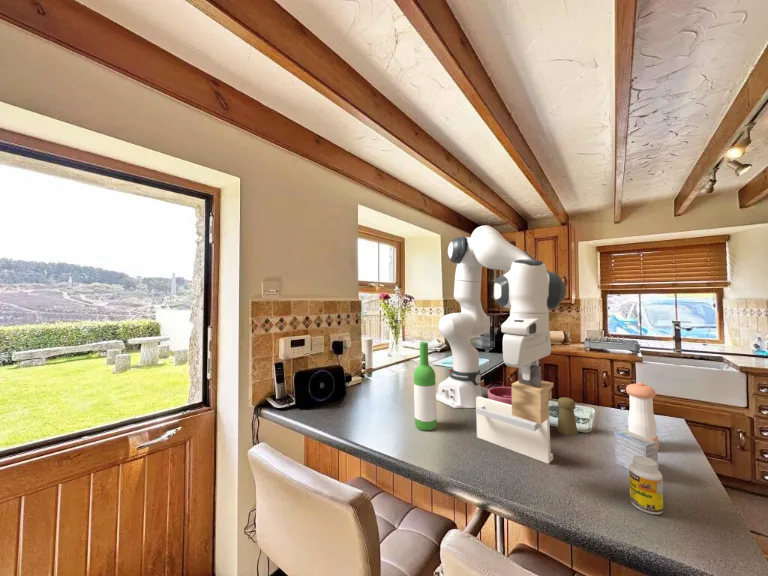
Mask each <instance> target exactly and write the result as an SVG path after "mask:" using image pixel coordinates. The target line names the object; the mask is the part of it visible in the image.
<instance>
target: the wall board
mask: <svg viewBox="0 0 768 576" xmlns="http://www.w3.org/2000/svg"><path fill="white" fill-rule="evenodd" d="M475 415H476V416H475V417H476V438H477V439H480V440H481V439H482V440H483V441H486V442H489V443H491V444H495V445H497V446H500V447H501V448H502V447H503V448H504V449H508V450H511V451H514V452H516V453H518V454H521V455H523V456H527V457H528V458H529V457H530V458H532V459H534V460H537V461H540V462H543V463H545V464H548V465H549V464H550V463H552V461H553V460H554V454H553V453H552V452H551V432H550V431H551V430H550V427H551V426H550V417H549V418H548V419H547V420H546V421H544V422H543V423H542V424H538V423H535V422H532V421H529V420H526V419H522V418H519V417H516V416H513V415H512V405H510V404H506V403H502V402H498V401H494V400H491V399H488V397H487V398H485V397H484V396H482V397H479V396H478V397H476V408H475Z"/></svg>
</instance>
